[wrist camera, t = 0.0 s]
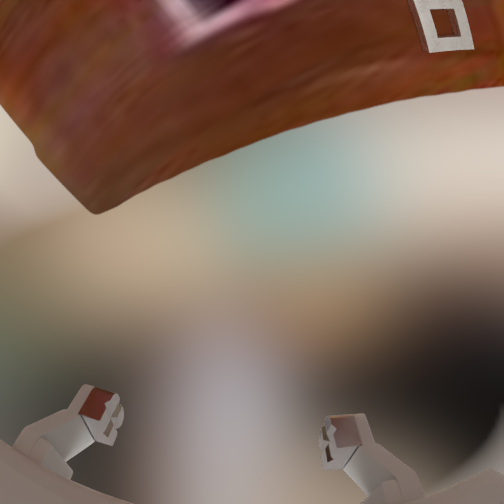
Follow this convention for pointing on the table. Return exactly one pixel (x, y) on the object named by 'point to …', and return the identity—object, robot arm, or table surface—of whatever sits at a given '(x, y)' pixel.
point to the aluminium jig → (430, 41)
